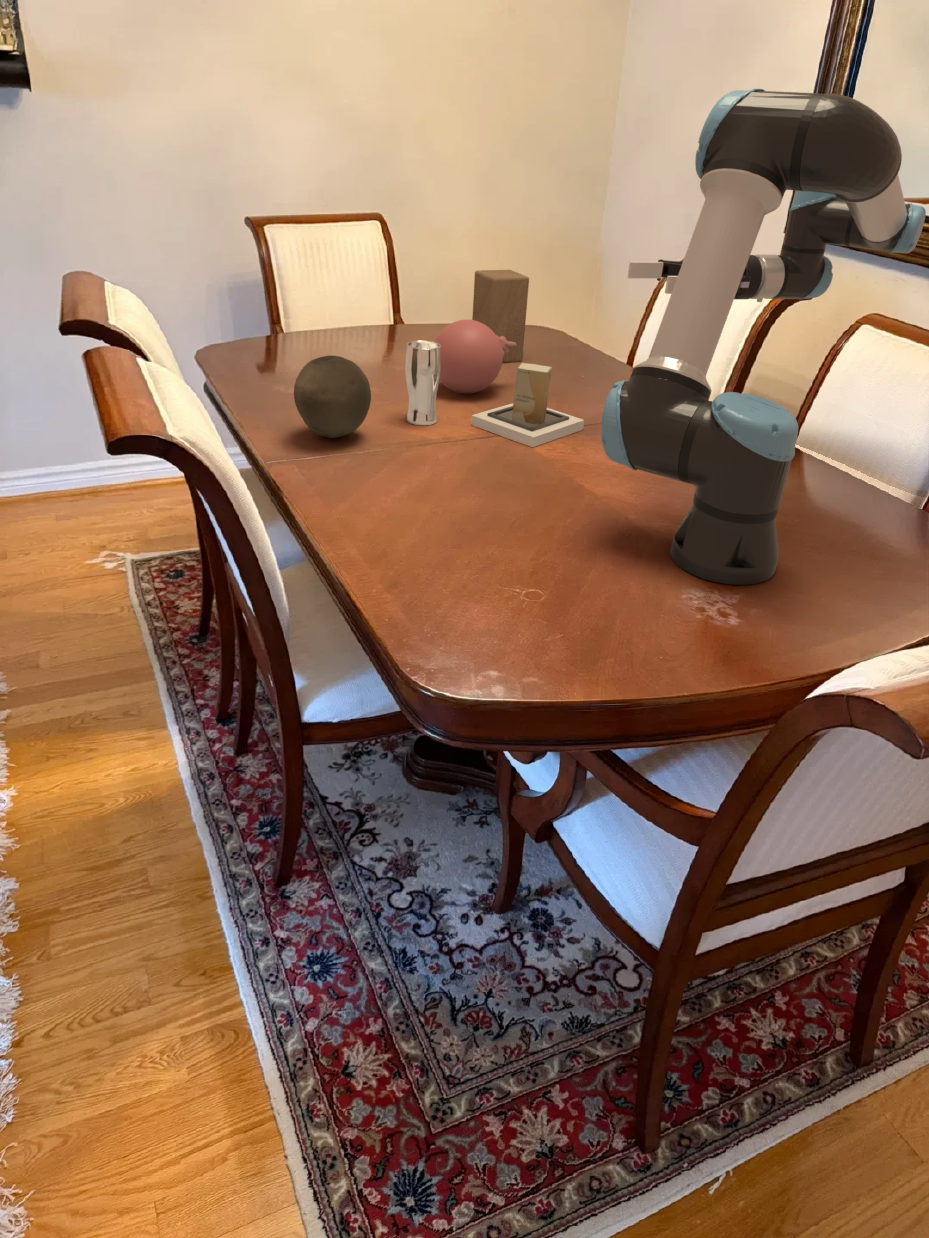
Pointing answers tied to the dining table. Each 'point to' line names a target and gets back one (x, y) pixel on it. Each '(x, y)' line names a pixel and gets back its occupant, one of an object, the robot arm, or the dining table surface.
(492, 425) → the socket block
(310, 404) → the dark brown ball
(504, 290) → the wooden block
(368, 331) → the dining table surface
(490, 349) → the balloon
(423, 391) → the beer glass
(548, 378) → the skincare box
